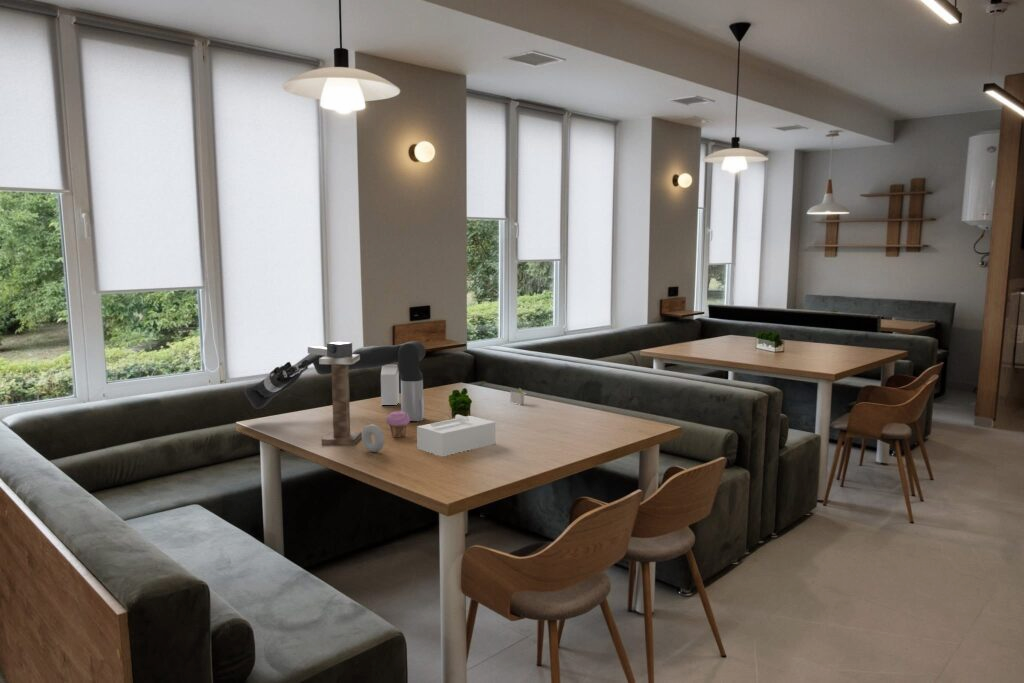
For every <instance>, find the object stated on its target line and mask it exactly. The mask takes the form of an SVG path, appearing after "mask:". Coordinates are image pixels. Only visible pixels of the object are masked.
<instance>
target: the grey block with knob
mask: <svg viewBox="0 0 1024 683" xmlns="http://www.w3.org/2000/svg"><path fill="white" fill-rule="evenodd" d="M352 353H353V342H345V341H333V342H326V346H319V345H318V346H317V345H312V346H307V355H309V354H316V355H324V356H327V357H334V358H345V357H352Z"/></svg>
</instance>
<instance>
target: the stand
mask: <svg viewBox="0 0 1024 683" xmlns="http://www.w3.org/2000/svg"><path fill="white" fill-rule="evenodd" d="M358 360H360V354H352V357H345V358H334V357H327V356H324V357H322V358H320V359H319V364H331V365H332V374H331V392H332V395H331V396H332V398H331V399H332V425H333V426H332V428H333V431H329V432H328V433H327V434H326V435H325V436H324V437H322V439H321V445H322V444H333V445H332V446H355V445H356V444H357V443H358V442H359V440H360V439H362V432H363V431H351V417H350V416H351V413H350V407H351V406H350V384H349V383H350V376H349V374H350V373H349V371H350V370H349V367H348V364H354V363H355V362H357V361H358ZM356 442H357V443H356ZM355 443H356V444H355ZM354 444H355V445H354Z"/></svg>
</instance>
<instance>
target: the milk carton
mask: <svg viewBox="0 0 1024 683" xmlns="http://www.w3.org/2000/svg"><path fill="white" fill-rule="evenodd" d="M380 401H381V402H380V403H381V405H397V404H398V403H399V404H400V374H399V366H398V364H387V365H384V366H381V371H380ZM399 404H398V405H399ZM398 405H397V406H398Z"/></svg>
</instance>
